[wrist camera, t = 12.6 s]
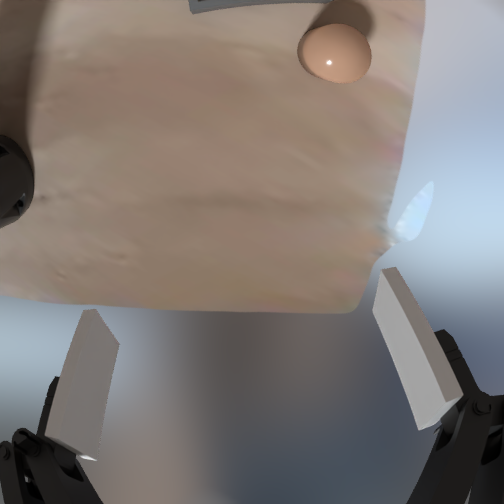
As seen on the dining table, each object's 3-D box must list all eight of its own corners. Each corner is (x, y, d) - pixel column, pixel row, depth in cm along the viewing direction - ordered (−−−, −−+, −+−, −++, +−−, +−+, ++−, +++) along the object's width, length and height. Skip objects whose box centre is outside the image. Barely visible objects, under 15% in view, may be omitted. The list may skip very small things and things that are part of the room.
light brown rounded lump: (300, 80, 32) (312, 84, 27) (294, 28, 28) (306, 22, 23) (353, 78, 32) (373, 83, 27) (348, 28, 28) (368, 25, 23)
